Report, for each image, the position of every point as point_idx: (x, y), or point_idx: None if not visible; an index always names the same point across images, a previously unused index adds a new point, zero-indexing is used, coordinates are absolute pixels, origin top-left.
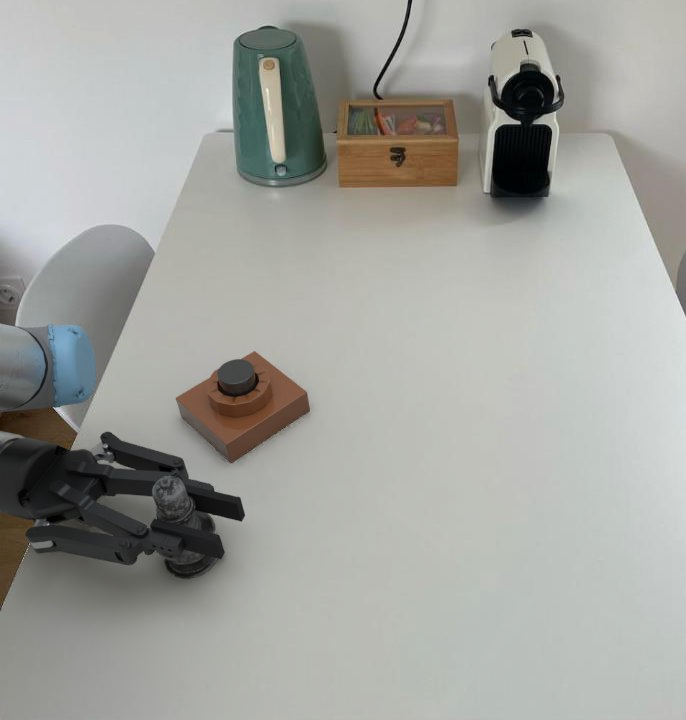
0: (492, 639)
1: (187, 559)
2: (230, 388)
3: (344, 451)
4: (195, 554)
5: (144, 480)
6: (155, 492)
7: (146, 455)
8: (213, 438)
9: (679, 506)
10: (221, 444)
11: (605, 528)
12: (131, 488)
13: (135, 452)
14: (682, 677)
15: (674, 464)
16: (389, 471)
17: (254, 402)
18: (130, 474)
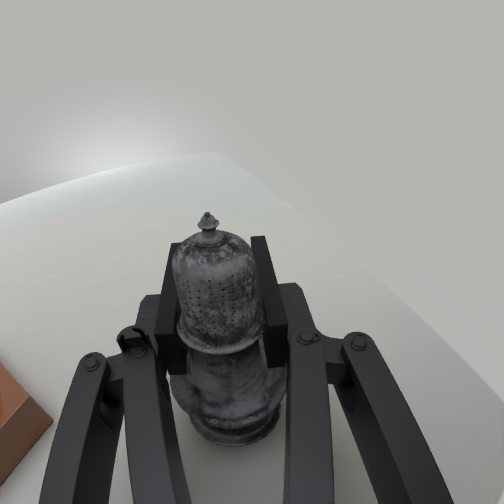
0: (226, 197)
1: None
2: None
3: (48, 306)
4: (261, 336)
5: (160, 410)
6: (240, 255)
7: (73, 445)
8: (14, 434)
9: (121, 177)
10: (26, 415)
11: (136, 186)
12: (178, 472)
13: (67, 478)
14: (218, 164)
15: (94, 182)
16: (79, 269)
17: None
18: (148, 458)
